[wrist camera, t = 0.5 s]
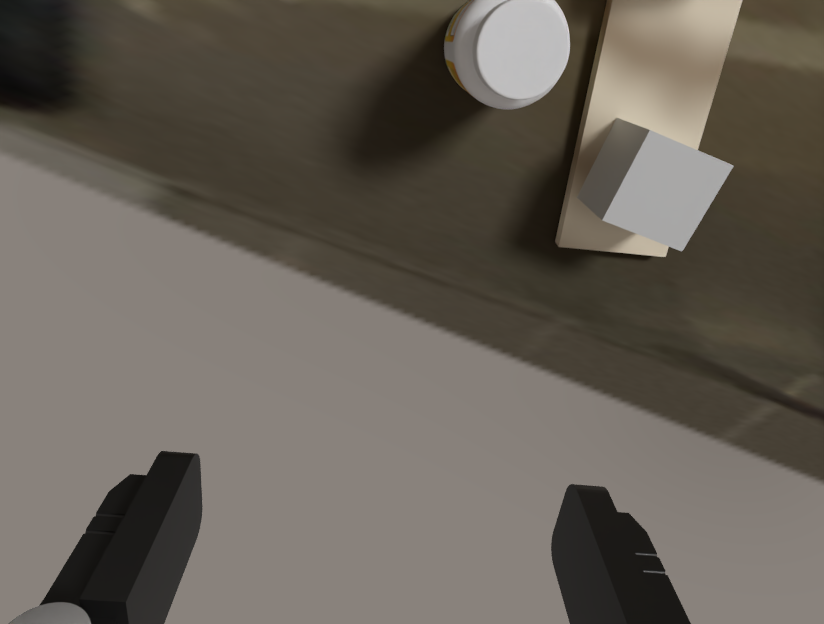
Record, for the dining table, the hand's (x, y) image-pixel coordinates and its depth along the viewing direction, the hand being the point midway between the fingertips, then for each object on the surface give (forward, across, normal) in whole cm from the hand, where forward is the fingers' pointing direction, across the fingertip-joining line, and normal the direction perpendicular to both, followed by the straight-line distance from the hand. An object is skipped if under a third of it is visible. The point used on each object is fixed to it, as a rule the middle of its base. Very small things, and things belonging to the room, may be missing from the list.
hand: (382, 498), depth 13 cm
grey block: (+26, -14, -3) cm, 30 cm away
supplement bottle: (+27, -5, -8) cm, 29 cm away
